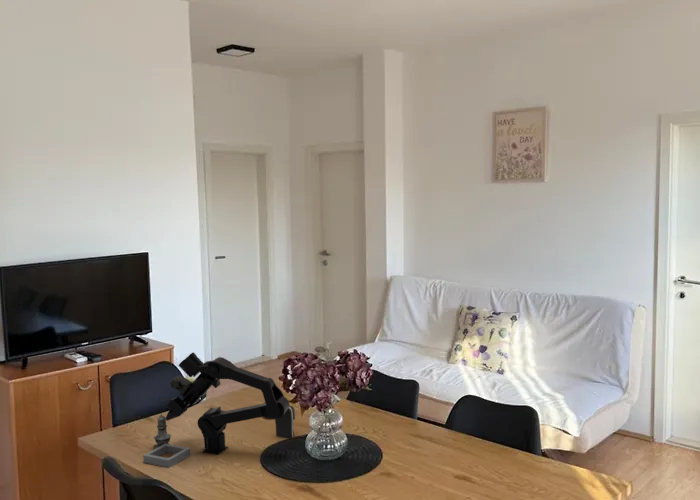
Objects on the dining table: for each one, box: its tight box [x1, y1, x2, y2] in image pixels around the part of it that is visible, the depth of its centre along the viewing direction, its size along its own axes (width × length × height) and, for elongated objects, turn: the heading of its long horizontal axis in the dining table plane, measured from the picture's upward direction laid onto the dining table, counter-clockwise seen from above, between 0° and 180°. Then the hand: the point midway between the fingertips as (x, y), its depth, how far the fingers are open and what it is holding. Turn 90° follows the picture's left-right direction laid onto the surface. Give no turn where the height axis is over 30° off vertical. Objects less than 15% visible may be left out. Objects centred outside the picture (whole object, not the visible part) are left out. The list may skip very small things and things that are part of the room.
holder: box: [142, 443, 192, 469], centre depth 221 cm, size 11×11×2 cm
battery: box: [274, 404, 296, 439], centre depth 239 cm, size 7×4×11 cm, turn 67°
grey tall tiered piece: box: [153, 413, 172, 449], centre depth 232 cm, size 6×6×12 cm
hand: (173, 415), depth 230 cm, fingers open, 9 cm apart
